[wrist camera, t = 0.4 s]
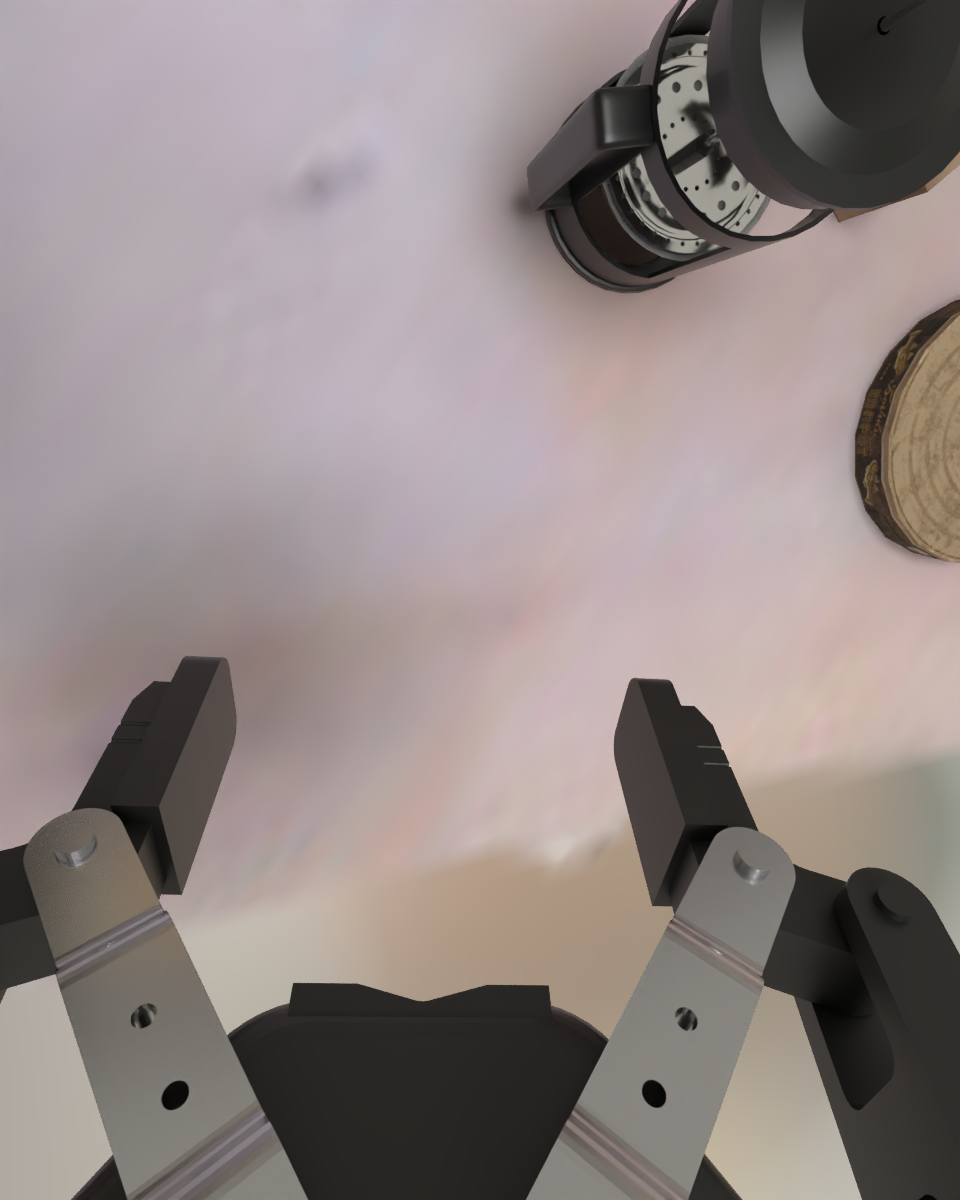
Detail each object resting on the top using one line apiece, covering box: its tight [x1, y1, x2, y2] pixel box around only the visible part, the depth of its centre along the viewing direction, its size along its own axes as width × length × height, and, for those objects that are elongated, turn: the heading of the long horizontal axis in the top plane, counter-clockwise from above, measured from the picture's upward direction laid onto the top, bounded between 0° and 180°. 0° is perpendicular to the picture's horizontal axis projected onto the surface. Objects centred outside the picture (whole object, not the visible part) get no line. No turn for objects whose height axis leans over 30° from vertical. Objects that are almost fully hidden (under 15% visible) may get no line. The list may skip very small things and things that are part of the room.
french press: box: [527, 0, 960, 293], centre depth 25 cm, size 12×9×23 cm
